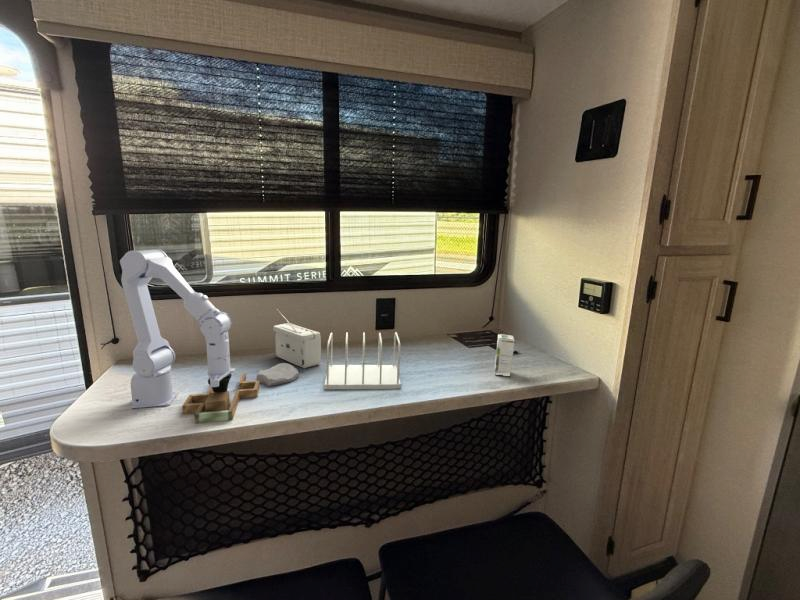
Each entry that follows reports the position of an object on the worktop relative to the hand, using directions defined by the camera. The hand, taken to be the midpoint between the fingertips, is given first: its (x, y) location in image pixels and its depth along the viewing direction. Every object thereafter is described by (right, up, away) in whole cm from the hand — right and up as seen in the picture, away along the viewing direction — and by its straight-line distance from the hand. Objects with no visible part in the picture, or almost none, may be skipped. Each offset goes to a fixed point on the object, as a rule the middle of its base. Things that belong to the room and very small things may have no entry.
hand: (221, 400), depth 106 cm
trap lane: (-1, 0, +4) cm, 4 cm away
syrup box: (+90, +1, +30) cm, 95 cm away
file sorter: (+39, +1, +22) cm, 45 cm away
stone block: (+11, +1, +19) cm, 22 cm away
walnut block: (+1, -2, -4) cm, 5 cm away
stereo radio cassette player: (+12, +5, +37) cm, 39 cm away
